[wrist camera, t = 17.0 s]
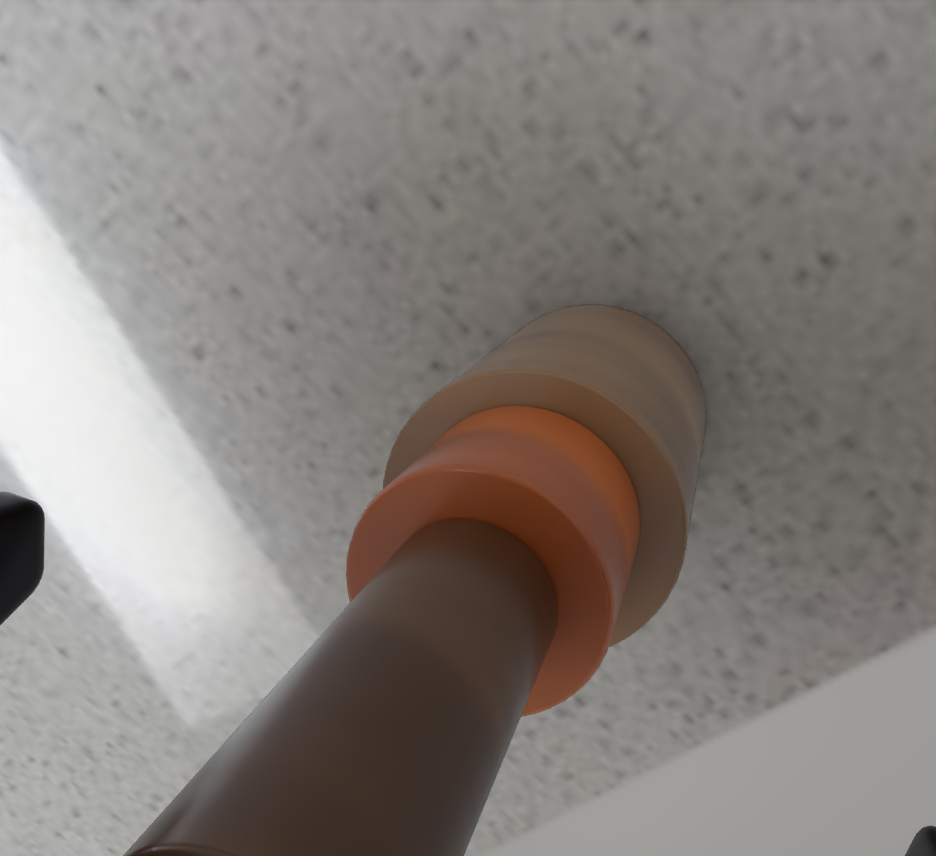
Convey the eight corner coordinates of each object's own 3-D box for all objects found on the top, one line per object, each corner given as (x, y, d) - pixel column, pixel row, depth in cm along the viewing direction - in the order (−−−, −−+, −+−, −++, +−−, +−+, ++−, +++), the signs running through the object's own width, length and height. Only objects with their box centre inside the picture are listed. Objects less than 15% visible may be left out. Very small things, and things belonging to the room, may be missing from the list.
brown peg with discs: (631, 635, 12) (472, 1264, 5) (418, 596, 13) (45, 1089, 6) (651, 417, 11) (488, 843, 4) (419, 392, 12) (-25, 709, 5)
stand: (694, 531, 17) (670, 686, 12) (482, 501, 18) (381, 630, 13) (719, 313, 16) (704, 386, 11) (489, 296, 17) (380, 355, 12)
